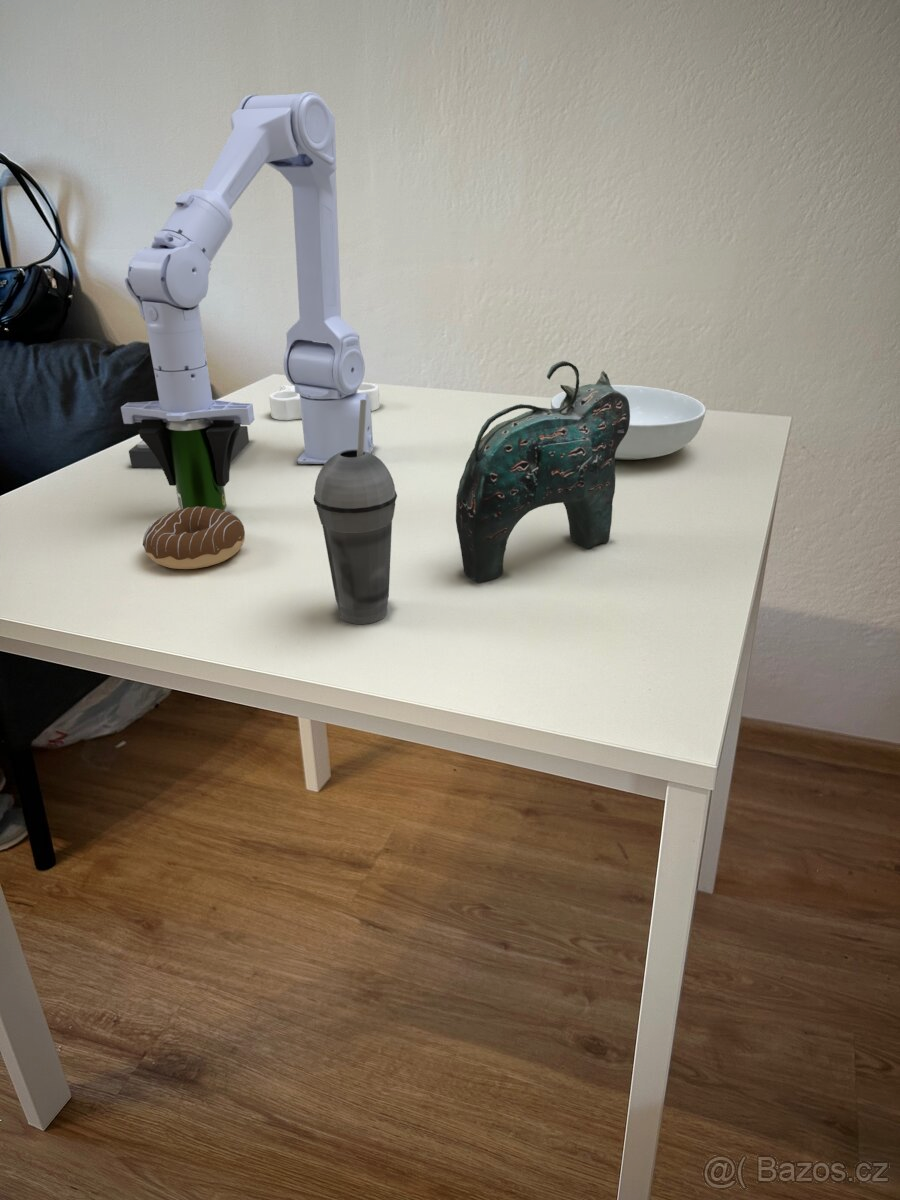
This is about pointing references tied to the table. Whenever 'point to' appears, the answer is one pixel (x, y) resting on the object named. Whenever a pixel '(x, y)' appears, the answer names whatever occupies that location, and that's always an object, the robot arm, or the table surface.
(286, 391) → the knuckle duster
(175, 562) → the donut
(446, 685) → the table surface
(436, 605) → the table surface
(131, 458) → the scale
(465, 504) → the ceramic cat
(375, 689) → the table surface
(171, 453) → the beer can
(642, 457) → the serving bowl
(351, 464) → the beverage cup
